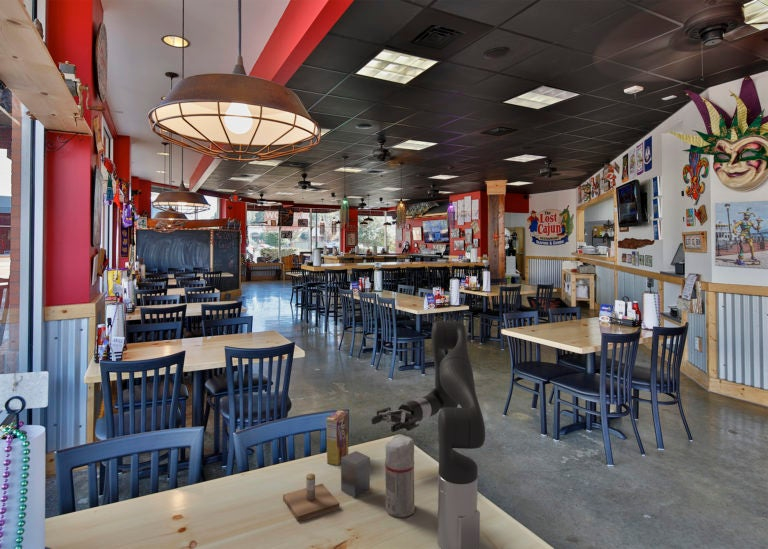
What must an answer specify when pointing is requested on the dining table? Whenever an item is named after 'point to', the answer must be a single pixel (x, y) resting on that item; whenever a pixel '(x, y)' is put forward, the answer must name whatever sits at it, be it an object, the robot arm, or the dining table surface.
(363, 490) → the brushed steel block
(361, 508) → the dining table surface
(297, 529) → the dining table surface
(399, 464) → the white spray can
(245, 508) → the dining table surface
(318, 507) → the wooden square base
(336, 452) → the candy box
